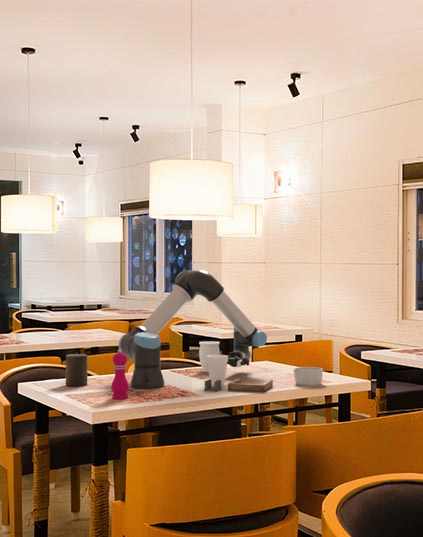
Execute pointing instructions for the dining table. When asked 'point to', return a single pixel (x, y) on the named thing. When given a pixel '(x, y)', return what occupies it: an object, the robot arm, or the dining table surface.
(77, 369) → the pillar candle
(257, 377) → the dining table surface
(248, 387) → the end holder
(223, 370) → the foam cup
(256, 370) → the dining table surface
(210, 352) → the jar
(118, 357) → the pepper mill
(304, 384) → the ramekin
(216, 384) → the clip
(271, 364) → the dining table surface
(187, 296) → the robot arm
